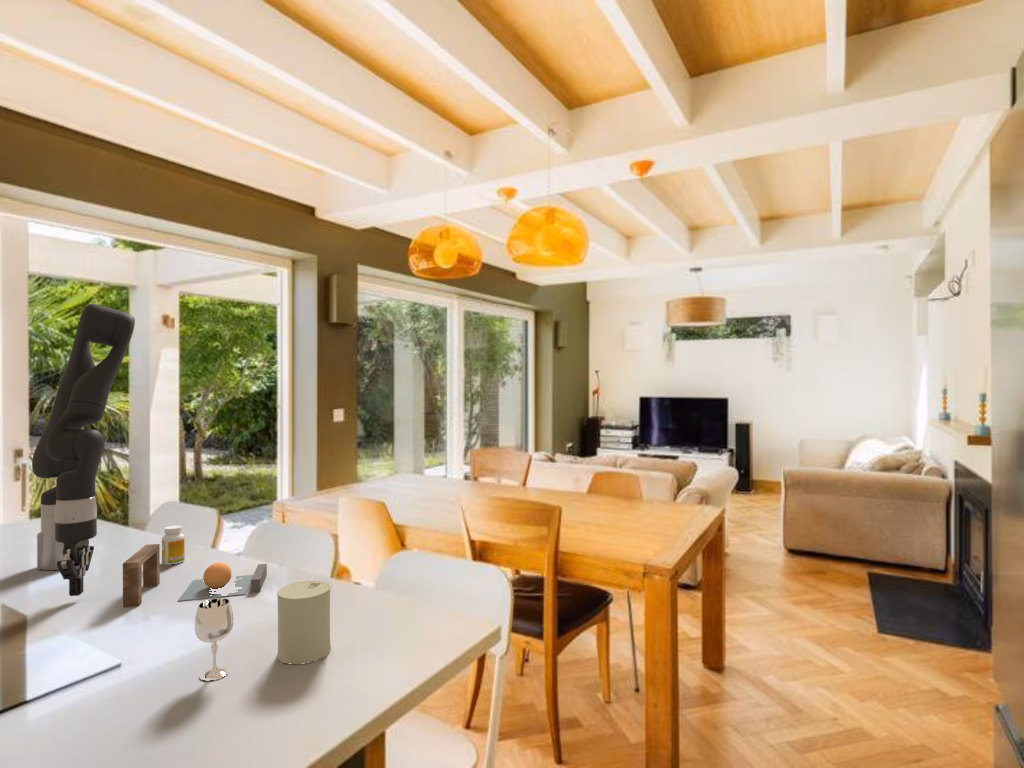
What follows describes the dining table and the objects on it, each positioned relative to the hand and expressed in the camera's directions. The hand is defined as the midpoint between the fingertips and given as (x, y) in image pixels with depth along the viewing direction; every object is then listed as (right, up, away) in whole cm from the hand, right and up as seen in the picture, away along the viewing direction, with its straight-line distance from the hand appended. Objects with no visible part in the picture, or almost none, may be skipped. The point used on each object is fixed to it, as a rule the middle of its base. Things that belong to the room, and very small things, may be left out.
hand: (76, 594), depth 128 cm
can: (+61, -2, -25) cm, 65 cm away
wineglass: (+48, -2, -33) cm, 58 cm away
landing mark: (+28, -1, +8) cm, 29 cm away
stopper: (+36, -1, +11) cm, 38 cm away
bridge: (+12, -2, +4) cm, 13 cm away
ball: (+28, +2, +8) cm, 29 cm away
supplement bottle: (+5, -2, +28) cm, 28 cm away
